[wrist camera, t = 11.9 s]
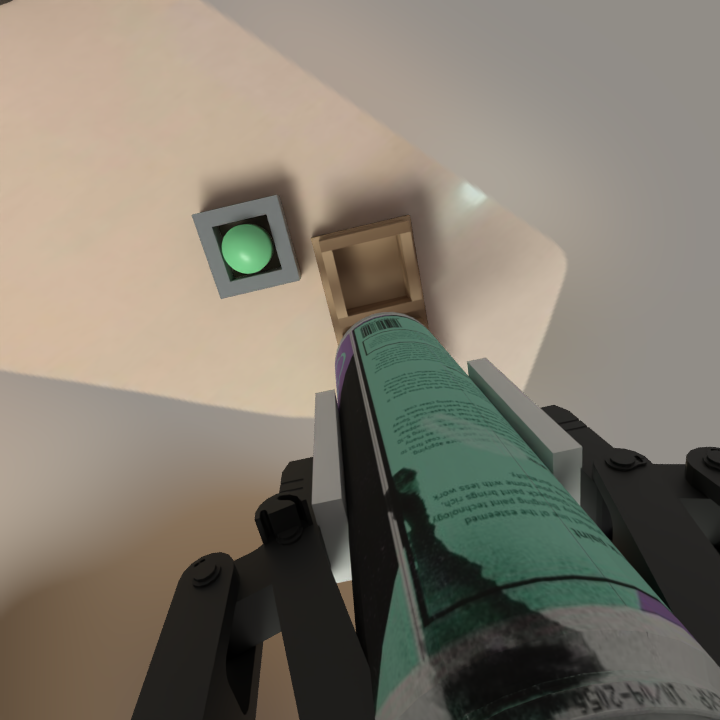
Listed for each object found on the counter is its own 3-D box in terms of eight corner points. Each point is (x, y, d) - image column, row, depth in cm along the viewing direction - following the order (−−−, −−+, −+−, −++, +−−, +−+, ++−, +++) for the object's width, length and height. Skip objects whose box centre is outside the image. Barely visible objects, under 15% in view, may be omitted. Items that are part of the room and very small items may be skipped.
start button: (222, 229, 40) (215, 231, 37) (266, 218, 40) (262, 219, 37) (237, 273, 42) (230, 278, 39) (279, 263, 42) (275, 267, 39)
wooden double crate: (311, 237, 42) (310, 240, 38) (407, 215, 42) (416, 215, 38) (352, 401, 48) (355, 419, 44) (435, 382, 48) (445, 397, 44)
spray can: (313, 369, 22) (256, 1434, 3) (382, 289, 20) (1047, 1195, 2) (390, 426, 23) (676, 1350, 4) (458, 354, 22) (1237, 1199, 3)
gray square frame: (199, 214, 40) (191, 214, 38) (279, 195, 40) (276, 194, 38) (226, 294, 43) (220, 299, 40) (301, 276, 43) (299, 280, 41)
